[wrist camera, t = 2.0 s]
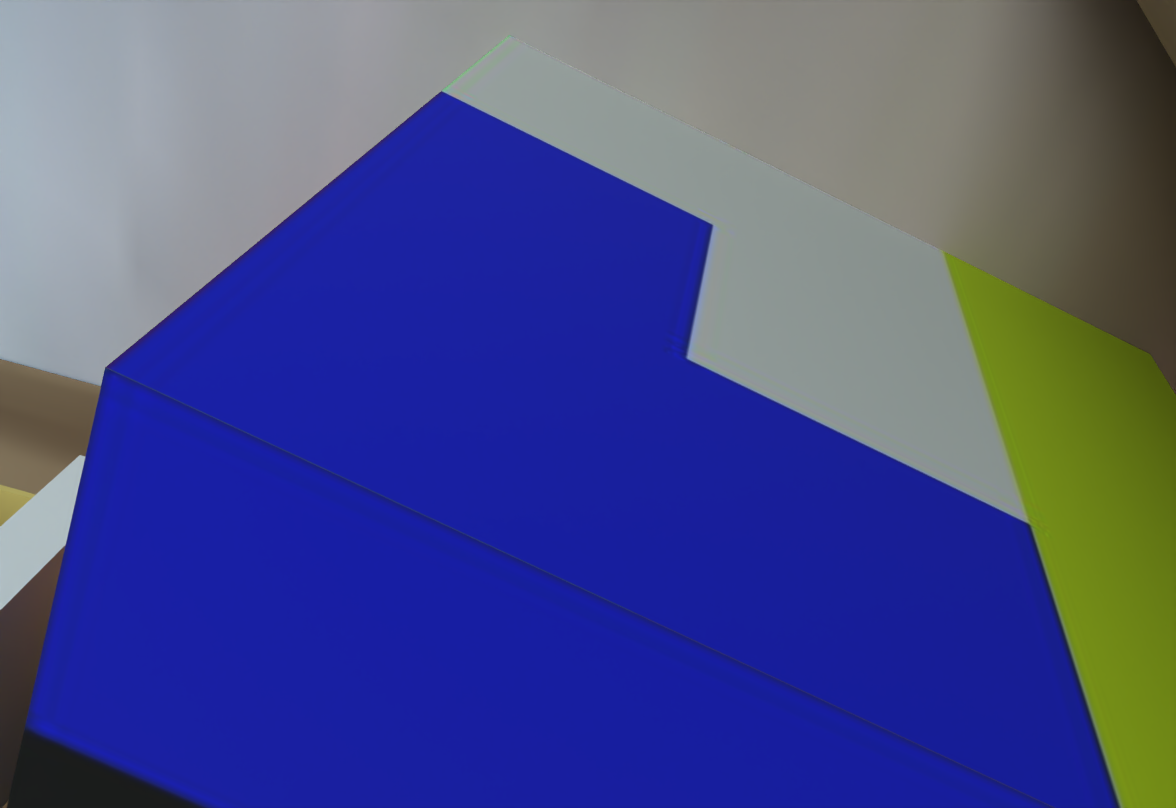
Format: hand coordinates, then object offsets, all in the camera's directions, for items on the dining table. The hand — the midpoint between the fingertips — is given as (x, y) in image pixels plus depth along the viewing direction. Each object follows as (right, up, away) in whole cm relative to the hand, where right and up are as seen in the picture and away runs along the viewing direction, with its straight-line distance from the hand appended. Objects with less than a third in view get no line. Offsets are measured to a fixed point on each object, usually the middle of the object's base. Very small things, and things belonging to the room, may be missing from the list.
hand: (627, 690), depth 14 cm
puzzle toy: (+1, +3, +4) cm, 5 cm away
